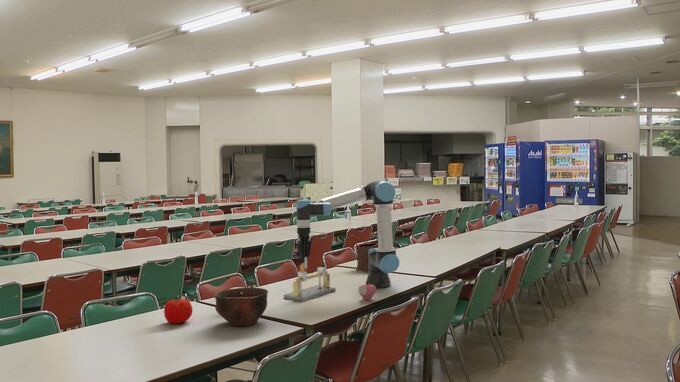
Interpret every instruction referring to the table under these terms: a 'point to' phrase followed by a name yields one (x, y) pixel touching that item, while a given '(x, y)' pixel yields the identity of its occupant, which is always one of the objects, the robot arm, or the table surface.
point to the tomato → (177, 311)
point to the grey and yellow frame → (311, 291)
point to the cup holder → (363, 255)
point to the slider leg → (303, 275)
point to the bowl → (241, 305)
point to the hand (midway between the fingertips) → (304, 268)
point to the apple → (367, 291)
